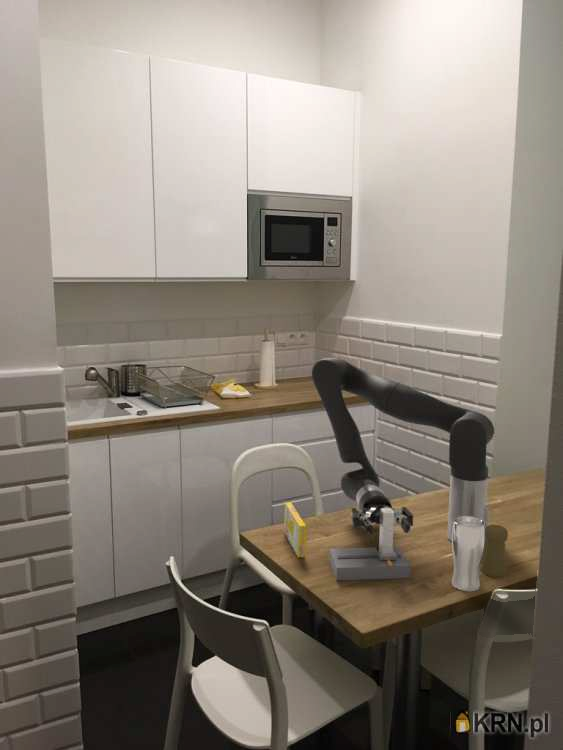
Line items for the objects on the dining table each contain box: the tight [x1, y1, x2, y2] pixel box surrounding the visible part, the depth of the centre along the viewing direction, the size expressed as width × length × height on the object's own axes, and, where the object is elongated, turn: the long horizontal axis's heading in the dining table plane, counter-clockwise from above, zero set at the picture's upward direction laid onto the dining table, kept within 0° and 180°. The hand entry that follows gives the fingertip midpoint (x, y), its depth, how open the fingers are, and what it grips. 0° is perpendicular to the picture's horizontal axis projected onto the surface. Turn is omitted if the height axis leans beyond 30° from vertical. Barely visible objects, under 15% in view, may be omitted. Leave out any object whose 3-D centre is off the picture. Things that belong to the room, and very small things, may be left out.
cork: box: [479, 524, 509, 578], centre depth 148 cm, size 6×6×11 cm
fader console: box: [328, 546, 412, 581], centre depth 150 cm, size 17×10×3 cm, turn 95°
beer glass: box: [451, 516, 486, 593], centre depth 141 cm, size 7×7×15 cm
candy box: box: [283, 502, 307, 559], centre depth 163 cm, size 16×2×8 cm, turn 12°
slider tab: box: [374, 508, 397, 560], centre depth 149 cm, size 4×5×11 cm
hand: (388, 529), depth 147 cm, fingers open, 8 cm apart
